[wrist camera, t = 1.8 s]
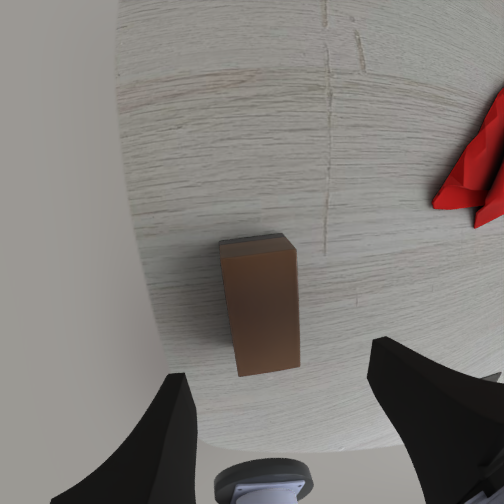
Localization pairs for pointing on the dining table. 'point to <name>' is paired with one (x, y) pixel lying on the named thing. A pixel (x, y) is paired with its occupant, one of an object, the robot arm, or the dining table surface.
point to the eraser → (262, 302)
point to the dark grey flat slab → (492, 377)
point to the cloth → (479, 171)
